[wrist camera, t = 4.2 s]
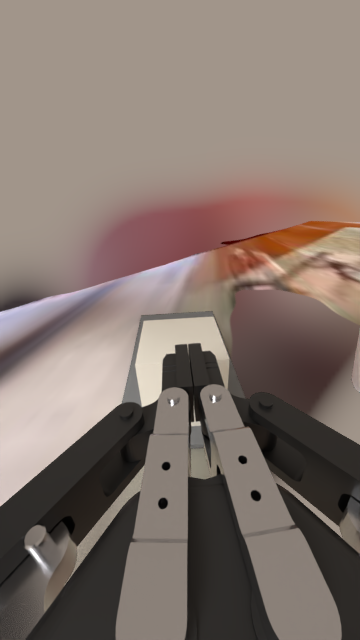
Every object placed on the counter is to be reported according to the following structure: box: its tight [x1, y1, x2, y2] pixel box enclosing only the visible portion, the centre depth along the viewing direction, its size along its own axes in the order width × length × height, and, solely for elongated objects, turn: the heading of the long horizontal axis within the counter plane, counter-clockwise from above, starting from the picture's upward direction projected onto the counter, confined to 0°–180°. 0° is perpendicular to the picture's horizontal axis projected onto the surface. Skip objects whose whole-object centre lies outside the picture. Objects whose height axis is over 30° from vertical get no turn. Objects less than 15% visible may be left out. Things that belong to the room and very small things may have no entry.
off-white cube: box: [135, 317, 230, 426], centre depth 25 cm, size 8×8×8 cm
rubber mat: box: [122, 311, 245, 448], centre depth 34 cm, size 28×14×1 cm, turn 3°
